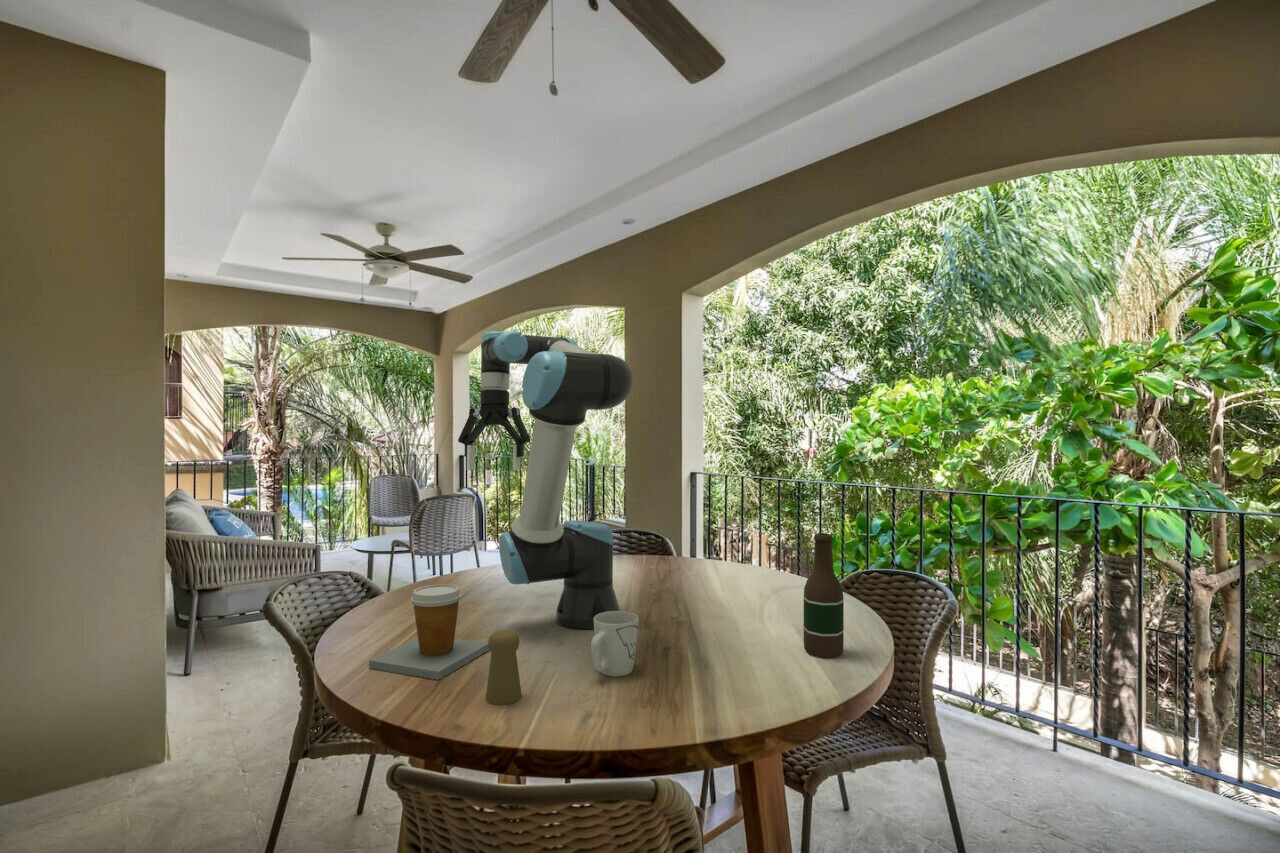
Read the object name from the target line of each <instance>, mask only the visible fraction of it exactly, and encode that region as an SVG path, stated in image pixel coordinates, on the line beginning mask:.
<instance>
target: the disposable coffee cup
mask: <svg viewBox="0 0 1280 853" xmlns="http://www.w3.org/2000/svg"><path fill="white" fill-rule="evenodd" d="M461 597H462V593H461V592H460V588H459V587H458V586H457V585H453V584H433V585H425V586H422V587H418V588H416V589H414V590H413V592H412V596H411V597H410V601H411V603H412V605H413V609H414V610H413V611H414V617H415V626H416V633H417V638H418V642H419V649H420V654H422V655H426V656H438V655H443V654H446V653H449V652H451V651H452V650H453V645H454V638H455V636H456V628H457V621H458V620H457V619H458V610H459V603H460V602H459V601H460V600H461Z"/></svg>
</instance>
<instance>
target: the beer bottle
mask: <svg viewBox="0 0 1280 853" xmlns="http://www.w3.org/2000/svg"><path fill="white" fill-rule="evenodd" d="M813 540H814V555H813V567H812V573H811V574H810V576H809V577H808V579H807V580H806V582H805V586H804V588H803V589H804V590H803V648H804V650H806V651H805V652H806V653H807V654H808V656H811V657H815V658H818V659H837V658H838V657H840V656H842V655H843V654H844V642H845V640H844V638H845V637H844V636H845V635H844V626H845V624H844V623H845V622H844V621H845V620H844V618H845V617H844V616H845V615H844V611H845V610H844V609H845V608H844V593H843V592H844V590H843V588H842V584H841V582H840V581H839V579H838V578H837V576H836V575H835V570H834V560H833V559H834V558H833V546H832V545H833V544H832V541H834V537H833V535H832V534H829V533H827V532H826V533H825V532H818V533H815V534H814V536H813Z"/></svg>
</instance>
